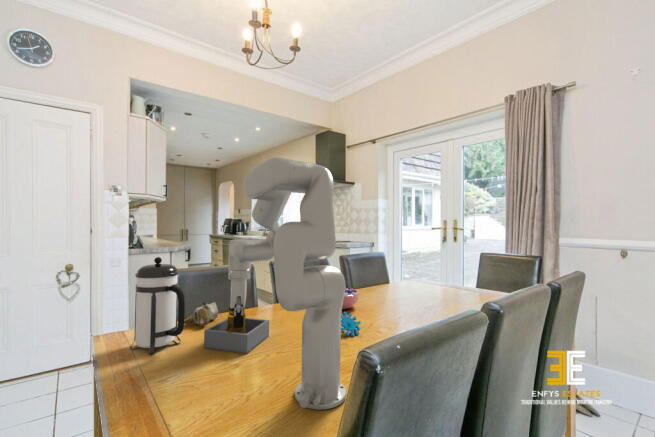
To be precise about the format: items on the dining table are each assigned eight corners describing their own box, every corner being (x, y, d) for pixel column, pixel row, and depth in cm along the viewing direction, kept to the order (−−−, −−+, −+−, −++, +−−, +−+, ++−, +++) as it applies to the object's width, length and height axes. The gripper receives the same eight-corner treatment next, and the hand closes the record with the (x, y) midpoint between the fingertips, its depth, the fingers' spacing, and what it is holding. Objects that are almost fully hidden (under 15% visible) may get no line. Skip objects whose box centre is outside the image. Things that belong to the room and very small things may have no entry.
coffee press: (120, 359, 92) (123, 260, 93) (138, 340, 108) (140, 255, 108) (183, 353, 97) (185, 259, 97) (191, 335, 112) (193, 254, 113)
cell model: (365, 306, 157) (366, 284, 157) (347, 315, 140) (347, 291, 140) (337, 301, 166) (337, 280, 166) (316, 309, 149) (317, 286, 149)
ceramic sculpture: (225, 299, 132) (201, 310, 118) (225, 318, 132) (202, 332, 118) (204, 297, 135) (179, 308, 121) (205, 316, 135) (179, 329, 121)
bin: (247, 354, 97) (247, 335, 97) (203, 348, 101) (204, 330, 101) (269, 336, 113) (269, 320, 113) (230, 331, 117) (231, 316, 117)
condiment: (222, 340, 107) (222, 306, 107) (243, 334, 113) (244, 301, 113) (233, 346, 102) (233, 310, 102) (254, 339, 108) (255, 305, 108)
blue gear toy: (343, 335, 110) (335, 310, 117) (335, 343, 114) (328, 318, 120) (367, 334, 116) (358, 310, 123) (359, 341, 119) (350, 318, 126)
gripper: (229, 270, 115) (228, 316, 114) (227, 278, 98) (226, 332, 98) (249, 270, 117) (249, 315, 116) (251, 278, 100) (250, 330, 100)
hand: (238, 322), depth 107 cm, fingers open, 9 cm apart
